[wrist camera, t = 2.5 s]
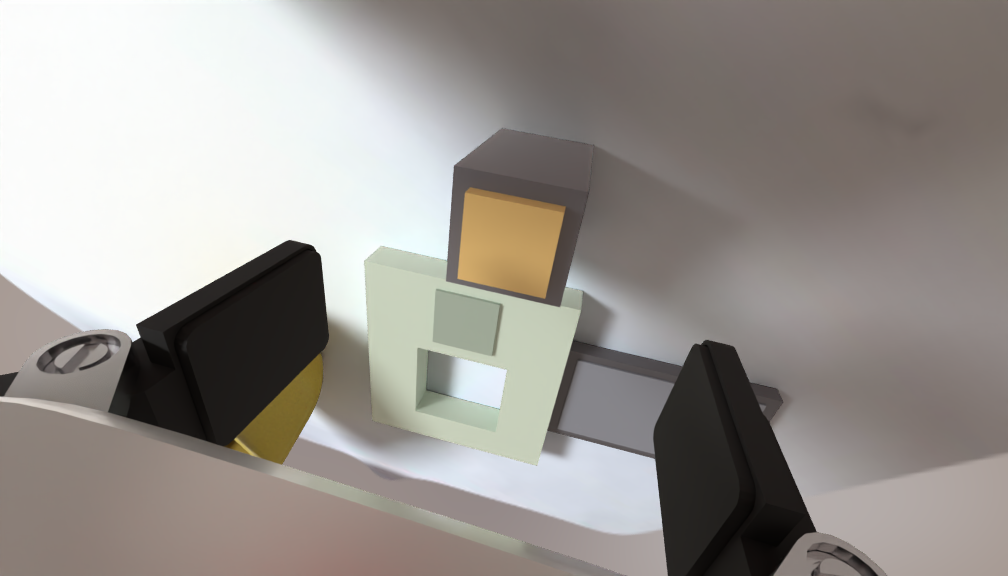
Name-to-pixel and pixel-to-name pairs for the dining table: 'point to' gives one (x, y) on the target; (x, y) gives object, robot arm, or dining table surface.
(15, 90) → the dining table surface
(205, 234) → the dining table surface
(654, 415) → the phone slab
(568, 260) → the block
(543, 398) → the outlet plate
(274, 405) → the flower pot
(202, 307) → the robot arm
